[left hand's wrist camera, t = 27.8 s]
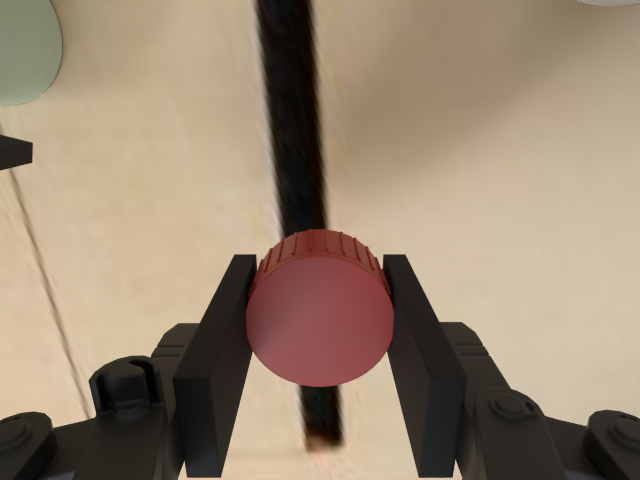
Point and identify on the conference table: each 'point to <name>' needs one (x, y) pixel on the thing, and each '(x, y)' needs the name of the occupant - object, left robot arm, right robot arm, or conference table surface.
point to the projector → (610, 2)
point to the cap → (319, 309)
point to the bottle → (28, 49)
